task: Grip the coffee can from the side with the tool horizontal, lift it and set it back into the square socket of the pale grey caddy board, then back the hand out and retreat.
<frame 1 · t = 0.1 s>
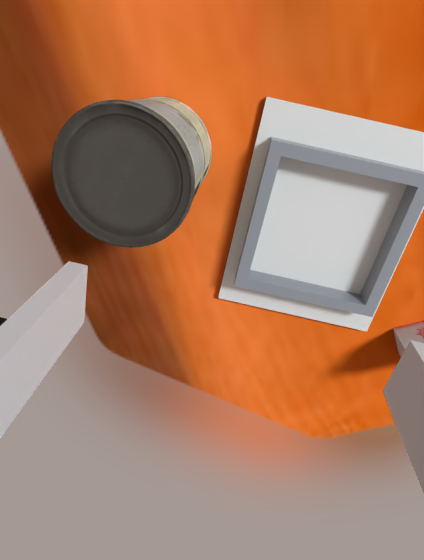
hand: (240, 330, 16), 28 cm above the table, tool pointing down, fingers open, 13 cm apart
caddy: (321, 225, 42), on the table
coffee can: (163, 150, 40), on the table
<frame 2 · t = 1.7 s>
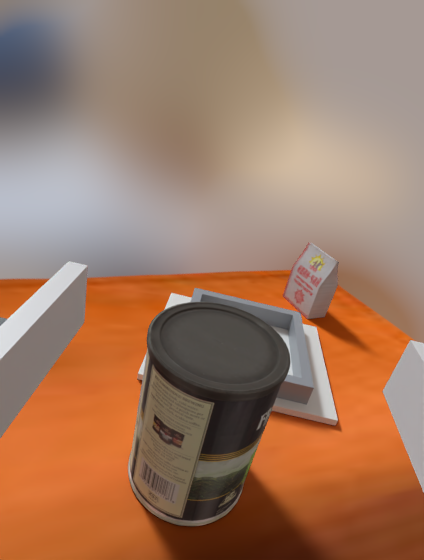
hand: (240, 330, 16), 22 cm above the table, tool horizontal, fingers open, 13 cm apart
white printed box: (302, 307, 65), on the table
caddy: (239, 351, 50), on the table
coffee can: (186, 468, 35), on the table
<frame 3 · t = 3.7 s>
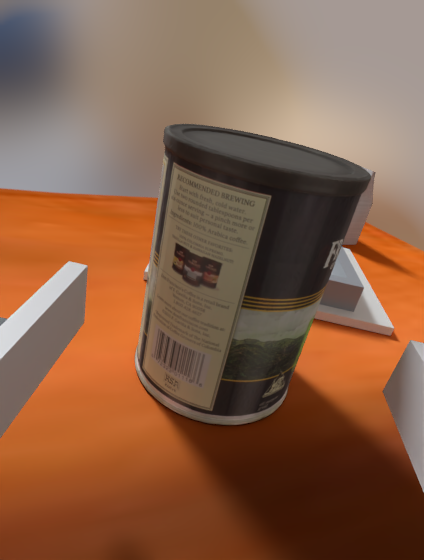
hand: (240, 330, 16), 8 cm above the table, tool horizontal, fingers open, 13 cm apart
white printed box: (329, 235, 56), on the table
caddy: (264, 264, 42), on the table
coffee can: (211, 366, 26), on the table
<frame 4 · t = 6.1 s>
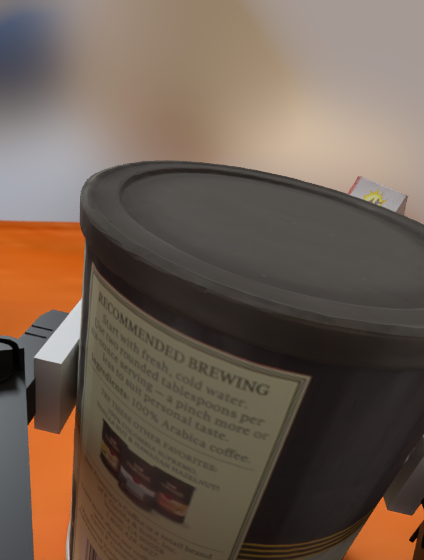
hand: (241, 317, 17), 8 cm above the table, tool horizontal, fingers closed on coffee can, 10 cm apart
white printed box: (348, 268, 47), on the table
coffee can: (192, 529, 17), on the table, touching gripper
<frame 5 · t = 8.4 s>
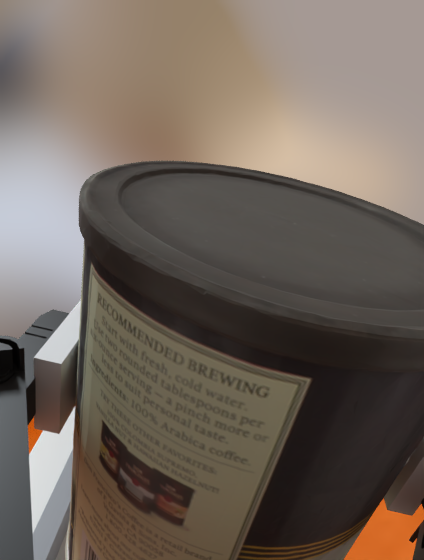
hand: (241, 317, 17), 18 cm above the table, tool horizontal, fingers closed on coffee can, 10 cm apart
caddy: (173, 533, 26), on the table
coffee can: (192, 530, 17), point 10 cm above the table, touching gripper
when the fingers open (10 cm above the table, at t = 11.1 s): coffee can drops 1 cm, resting on caddy.
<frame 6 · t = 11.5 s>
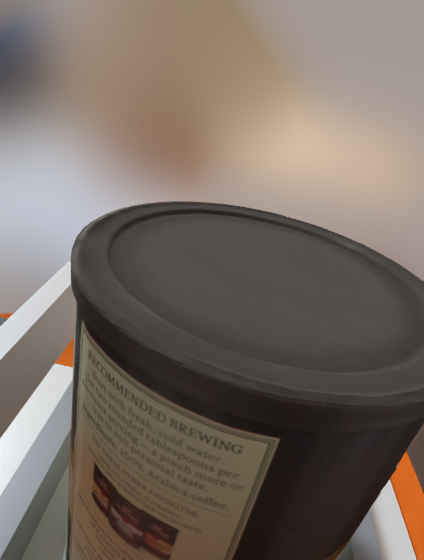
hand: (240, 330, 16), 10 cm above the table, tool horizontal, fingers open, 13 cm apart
caddy: (184, 555, 18), on the table
coffee can: (184, 548, 17), point 1 cm above the table, touching caddy
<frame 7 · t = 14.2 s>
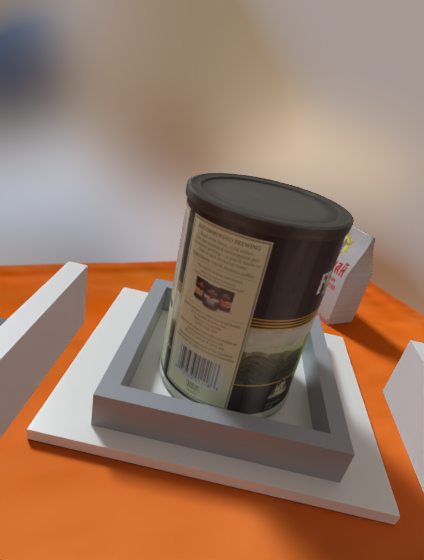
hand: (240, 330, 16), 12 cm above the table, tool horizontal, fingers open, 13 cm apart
white printed box: (319, 307, 45), on the table
caddy: (223, 379, 31), on the table
coffee can: (223, 372, 31), point 1 cm above the table, touching caddy
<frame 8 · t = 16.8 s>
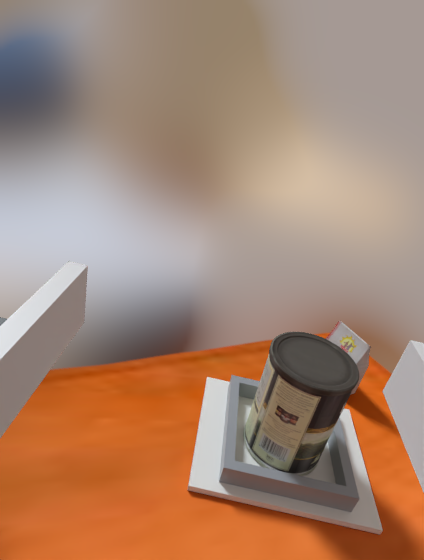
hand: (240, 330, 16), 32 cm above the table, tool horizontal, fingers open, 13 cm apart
white printed box: (332, 382, 66), on the table
caddy: (279, 445, 52), on the table
coffee can: (280, 442, 51), point 1 cm above the table, touching caddy
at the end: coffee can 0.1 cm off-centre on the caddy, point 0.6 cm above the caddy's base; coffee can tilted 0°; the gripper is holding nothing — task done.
